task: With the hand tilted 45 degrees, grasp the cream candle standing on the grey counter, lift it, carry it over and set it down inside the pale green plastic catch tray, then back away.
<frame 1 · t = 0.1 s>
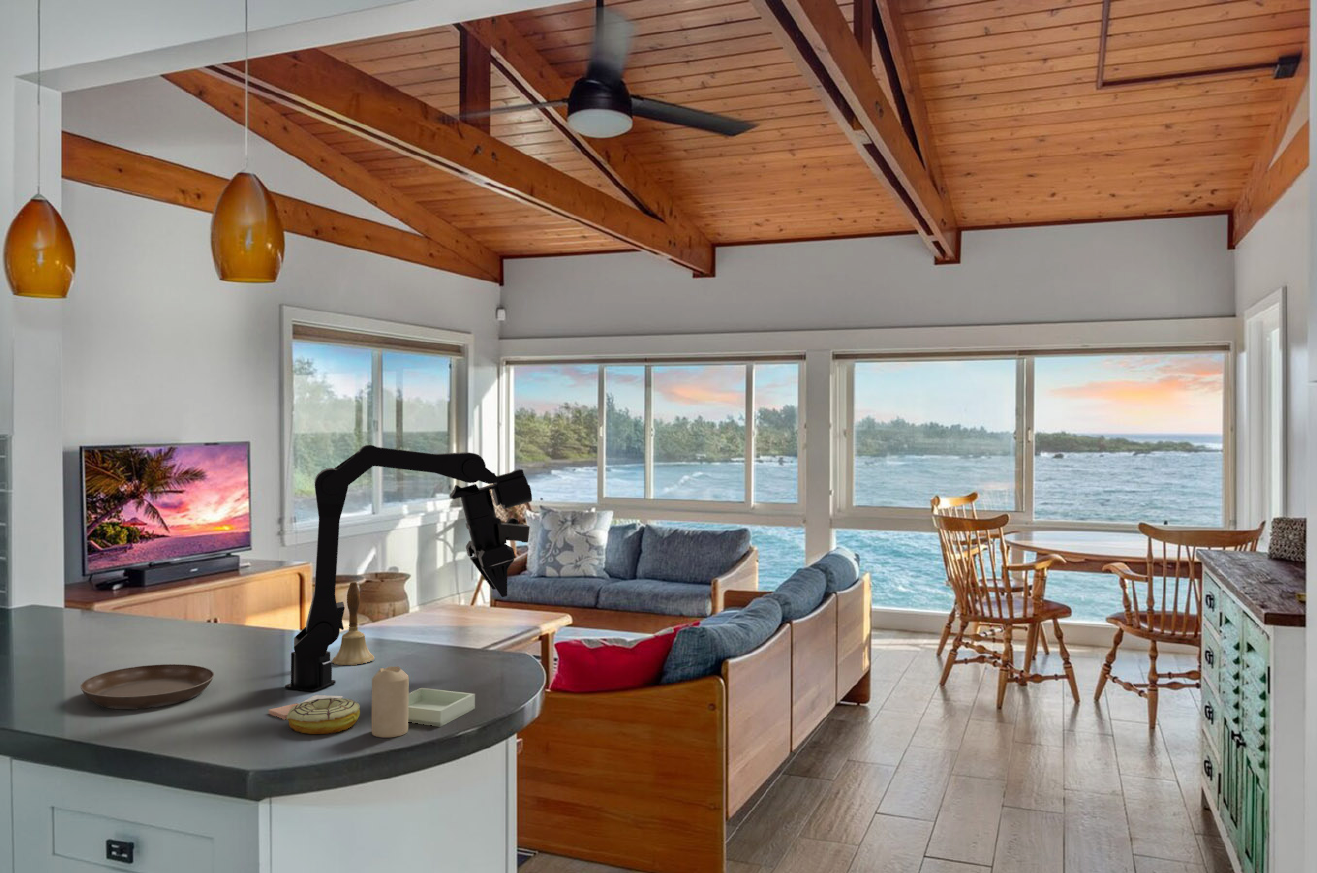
hand: (499, 592, 186), 15 cm above the counter, tool pointing down, fingers open, 9 cm apart
tile terracotta: (290, 716, 157), on the counter
candle: (389, 733, 148), on the counter
hand bell: (353, 662, 193), on the counter
decorated donut: (324, 728, 151), on the counter
tray: (430, 714, 158), on the counter
tile white: (322, 706, 163), on the counter
plant saucer: (149, 698, 167), on the counter
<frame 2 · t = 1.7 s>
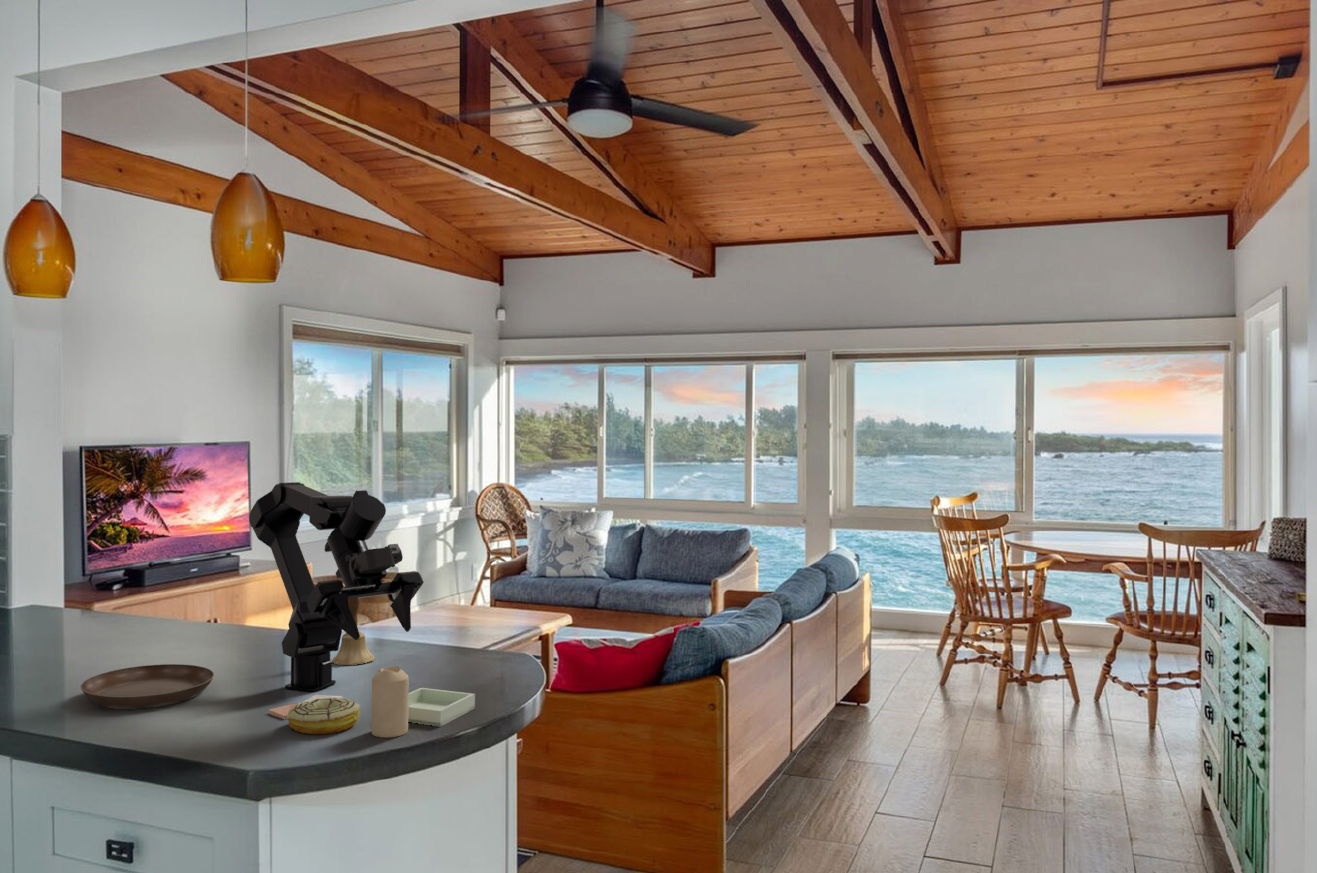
hand: (383, 634, 155), 14 cm above the counter, tool tilted 40°, fingers open, 9 cm apart
nothing on the counter moved.
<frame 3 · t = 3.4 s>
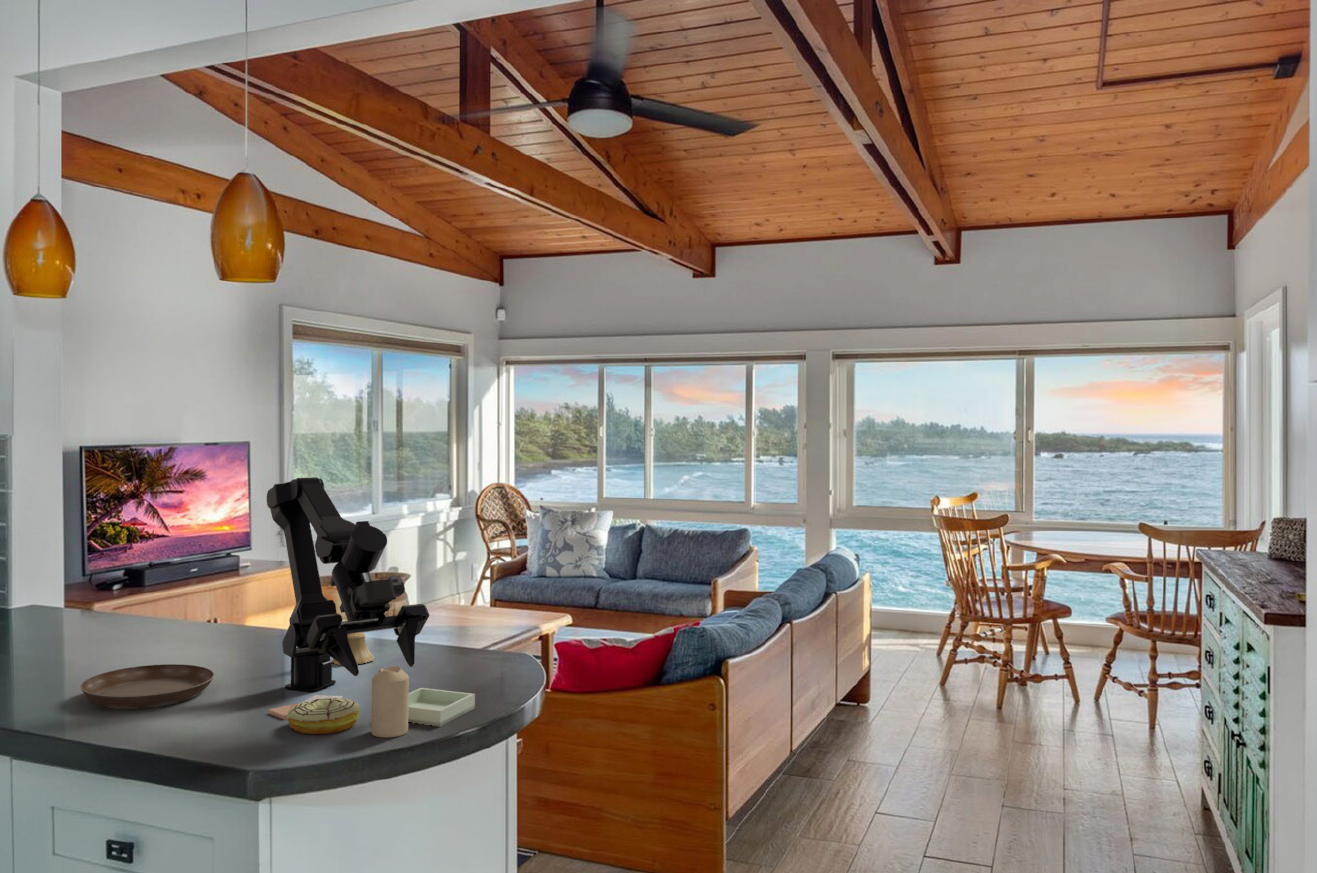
hand: (385, 670, 149), 9 cm above the counter, tool tilted 45°, fingers open, 9 cm apart
nothing on the counter moved.
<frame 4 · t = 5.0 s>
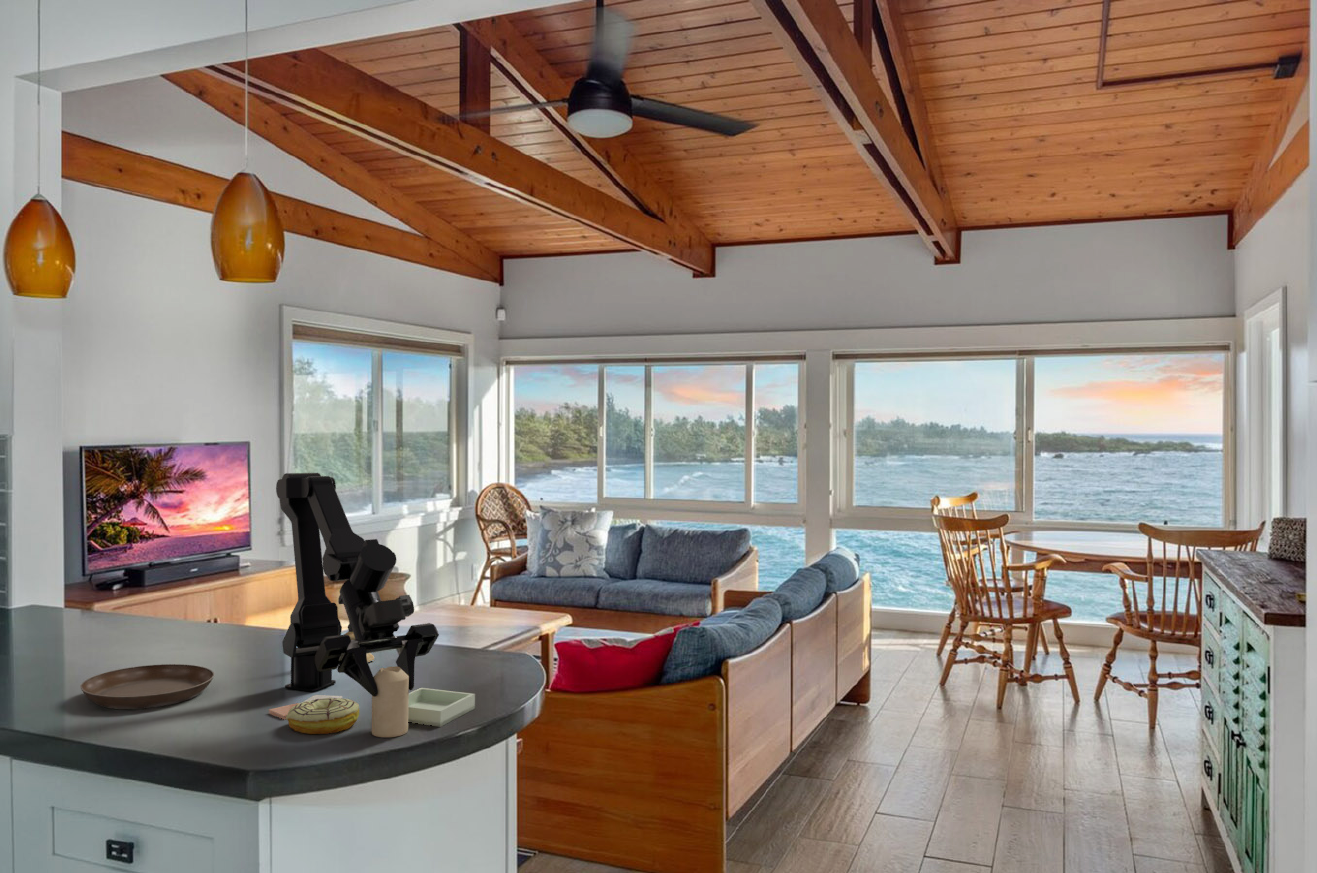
hand: (394, 692, 147), 7 cm above the counter, tool tilted 45°, fingers closed on candle, 5 cm apart
candle: (389, 733, 148), on the counter, touching gripper
everything else where it was.
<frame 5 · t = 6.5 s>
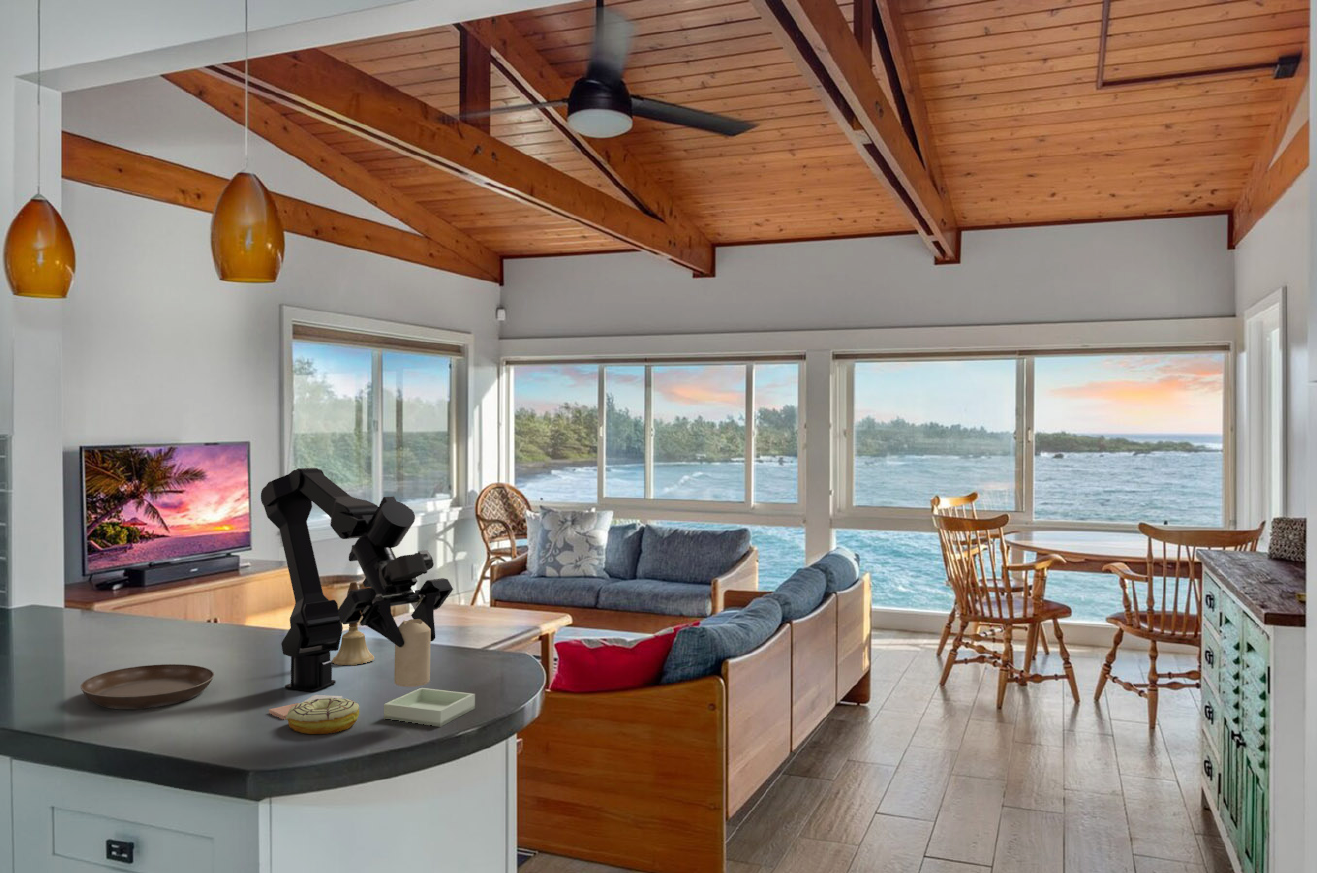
hand: (418, 642, 152), 13 cm above the counter, tool tilted 45°, fingers closed on candle, 5 cm apart
candle: (412, 683, 153), point 6 cm above the counter, touching gripper
everything else where it was.
when the fingers open (8 cm above the counter, at t = 8.2 s): candle drops 1 cm, resting on tray.
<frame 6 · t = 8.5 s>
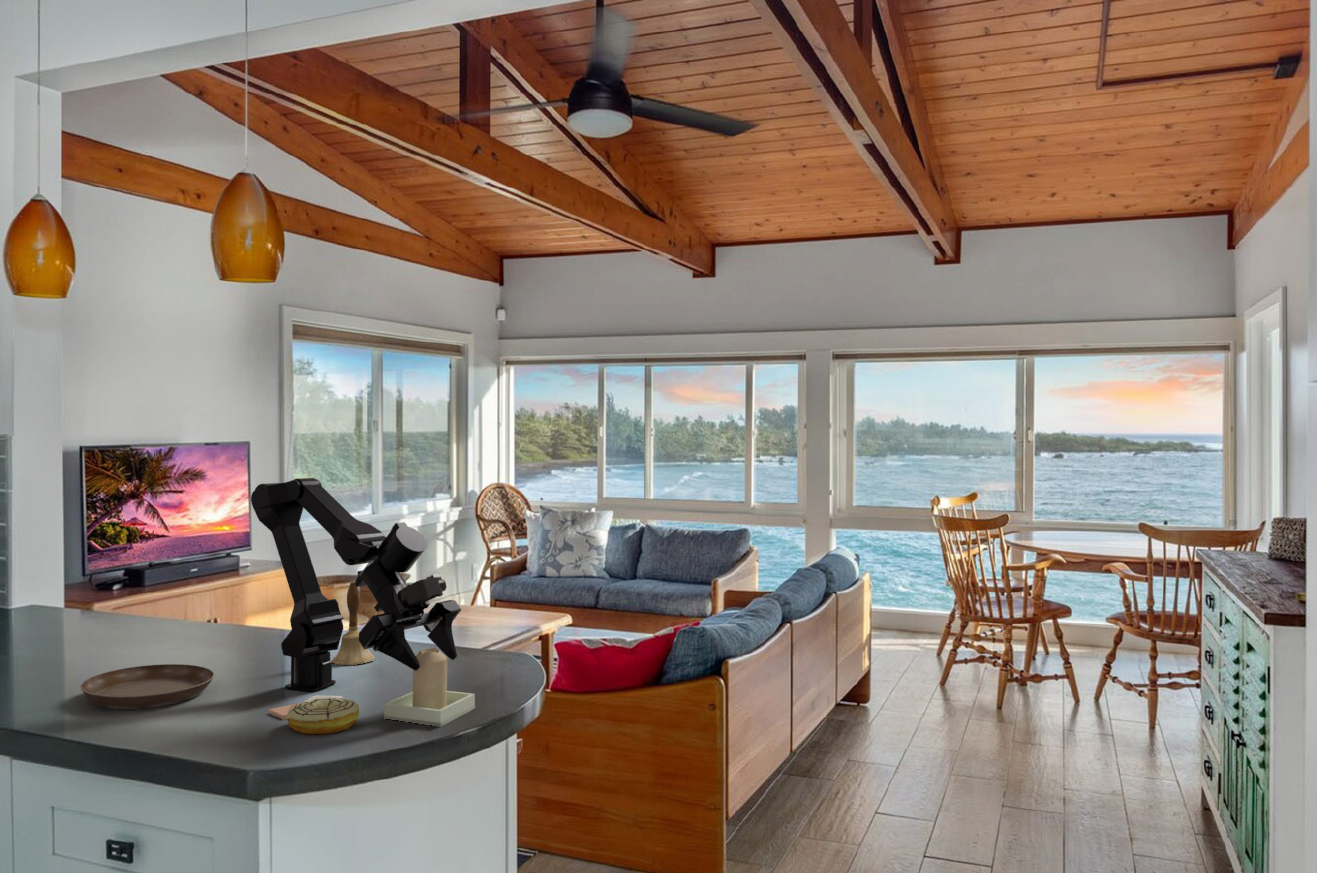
hand: (436, 663, 157), 9 cm above the counter, tool tilted 45°, fingers open, 8 cm apart
candle: (429, 711, 158), resting on tray
everything else where it was.
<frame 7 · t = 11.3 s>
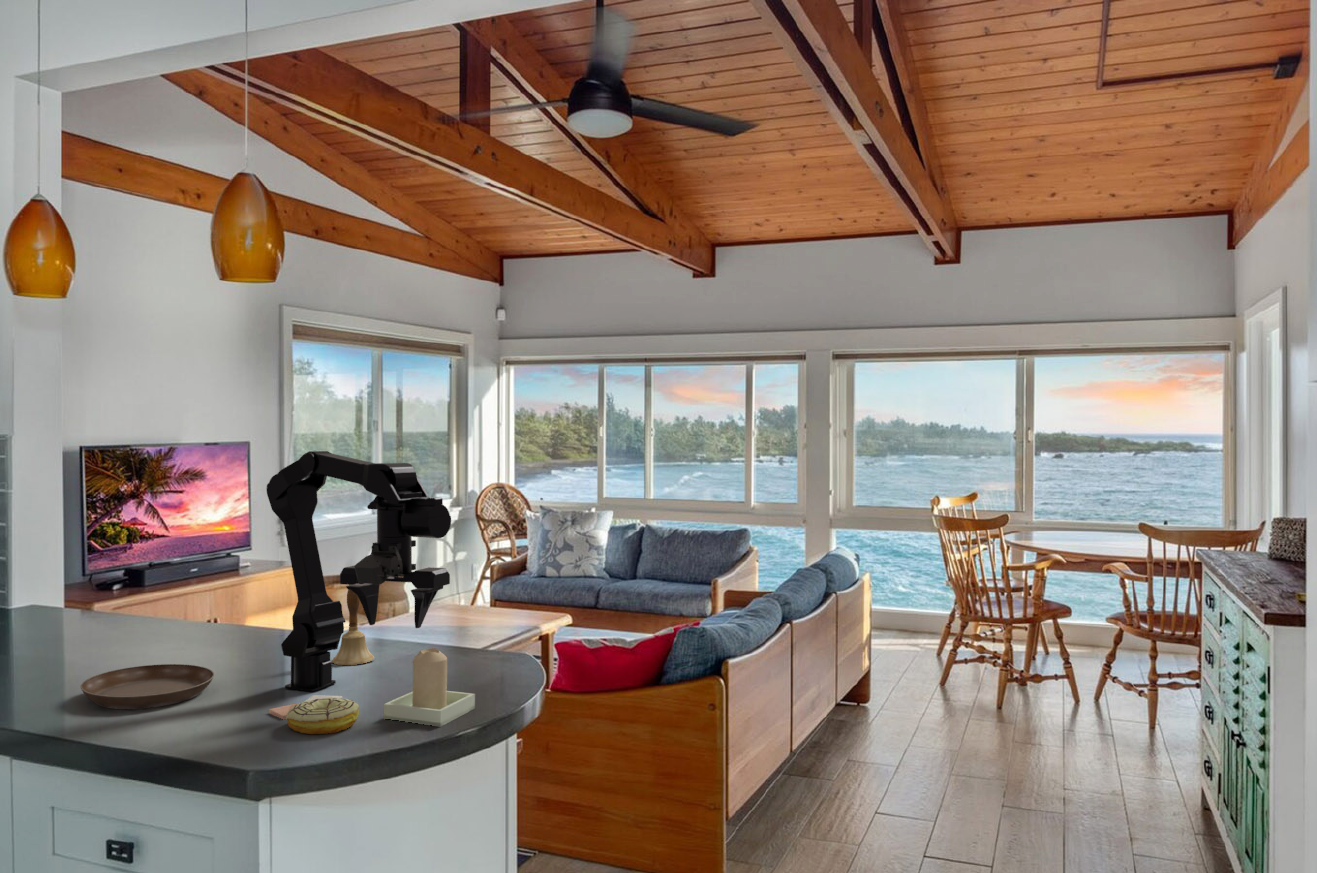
hand: (394, 626, 164), 13 cm above the counter, tool pointing down, fingers open, 9 cm apart
nothing on the counter moved.
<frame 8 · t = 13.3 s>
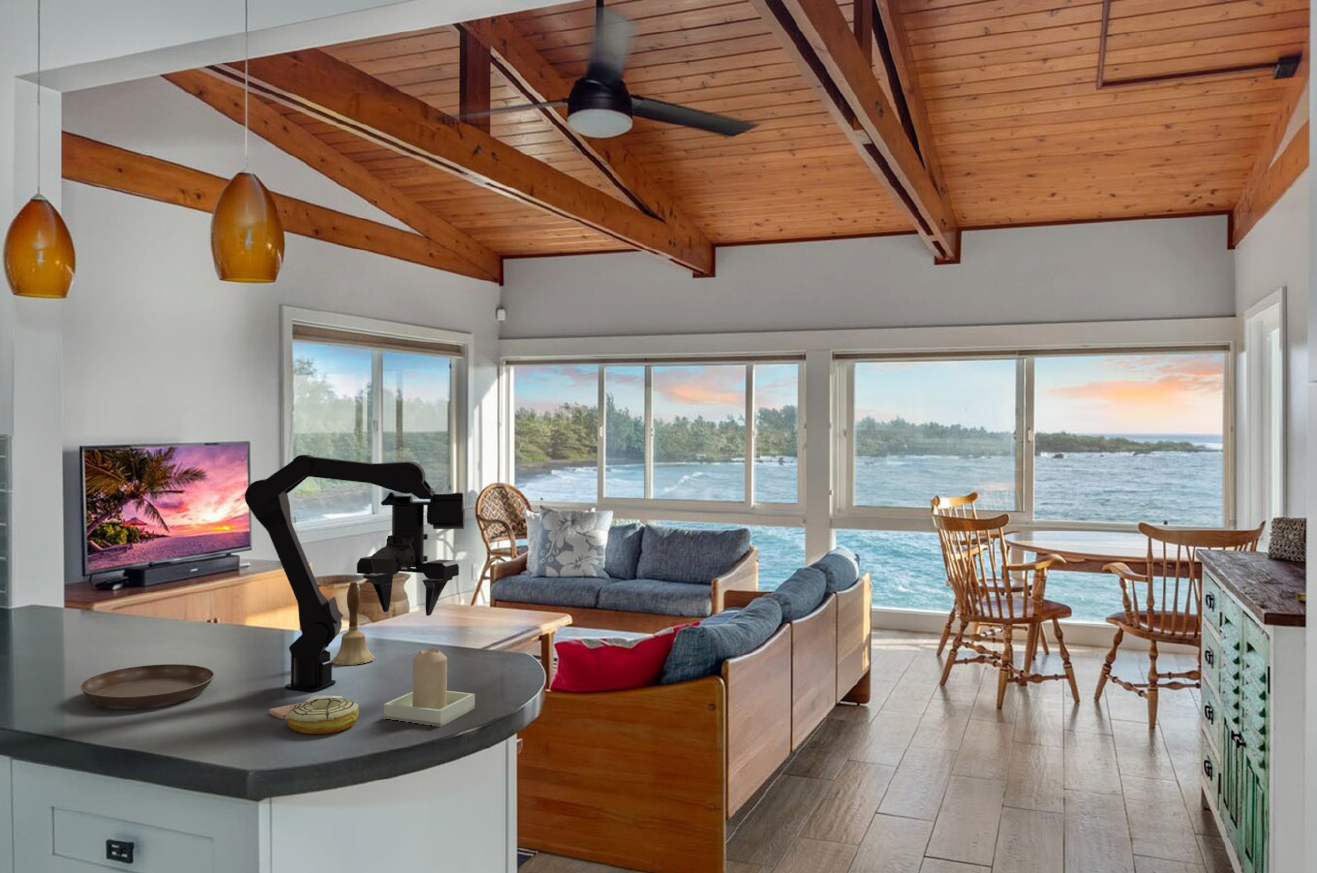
hand: (407, 613, 176), 13 cm above the counter, tool pointing down, fingers open, 9 cm apart
nothing on the counter moved.
at the end: candle inside the target area on the tray (0.2 cm from its centre), point 0.4 cm above the tray's base; candle tilted 0°; the gripper is holding nothing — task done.
